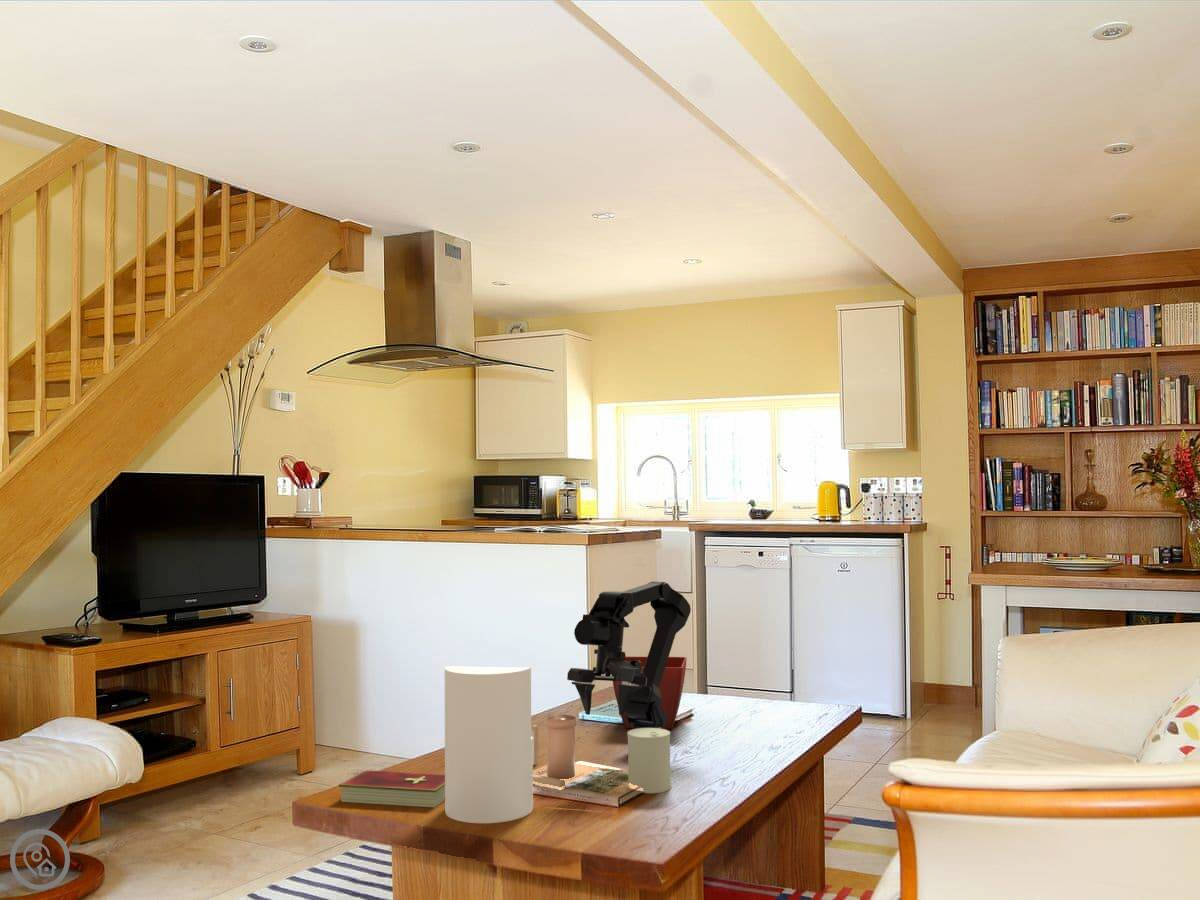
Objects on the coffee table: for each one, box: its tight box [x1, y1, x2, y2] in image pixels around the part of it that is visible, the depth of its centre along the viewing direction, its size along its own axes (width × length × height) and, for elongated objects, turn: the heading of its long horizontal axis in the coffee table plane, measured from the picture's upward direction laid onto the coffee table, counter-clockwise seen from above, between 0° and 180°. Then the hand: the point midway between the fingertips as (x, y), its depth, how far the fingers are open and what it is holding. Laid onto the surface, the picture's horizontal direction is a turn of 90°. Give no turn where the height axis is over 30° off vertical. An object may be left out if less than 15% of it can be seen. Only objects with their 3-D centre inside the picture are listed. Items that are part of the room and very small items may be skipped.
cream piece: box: [531, 724, 621, 787], centre depth 232 cm, size 21×19×9 cm
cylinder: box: [444, 665, 534, 824], centre depth 206 cm, size 17×17×28 cm
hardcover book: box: [338, 769, 445, 808], centre depth 215 cm, size 12×21×4 cm, turn 77°
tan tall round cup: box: [545, 714, 577, 779], centre depth 227 cm, size 7×7×13 cm
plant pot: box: [612, 656, 688, 730], centre depth 281 cm, size 19×19×17 cm
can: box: [626, 728, 672, 794], centre depth 221 cm, size 9×9×12 cm
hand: (604, 715), depth 240 cm, fingers open, 9 cm apart
